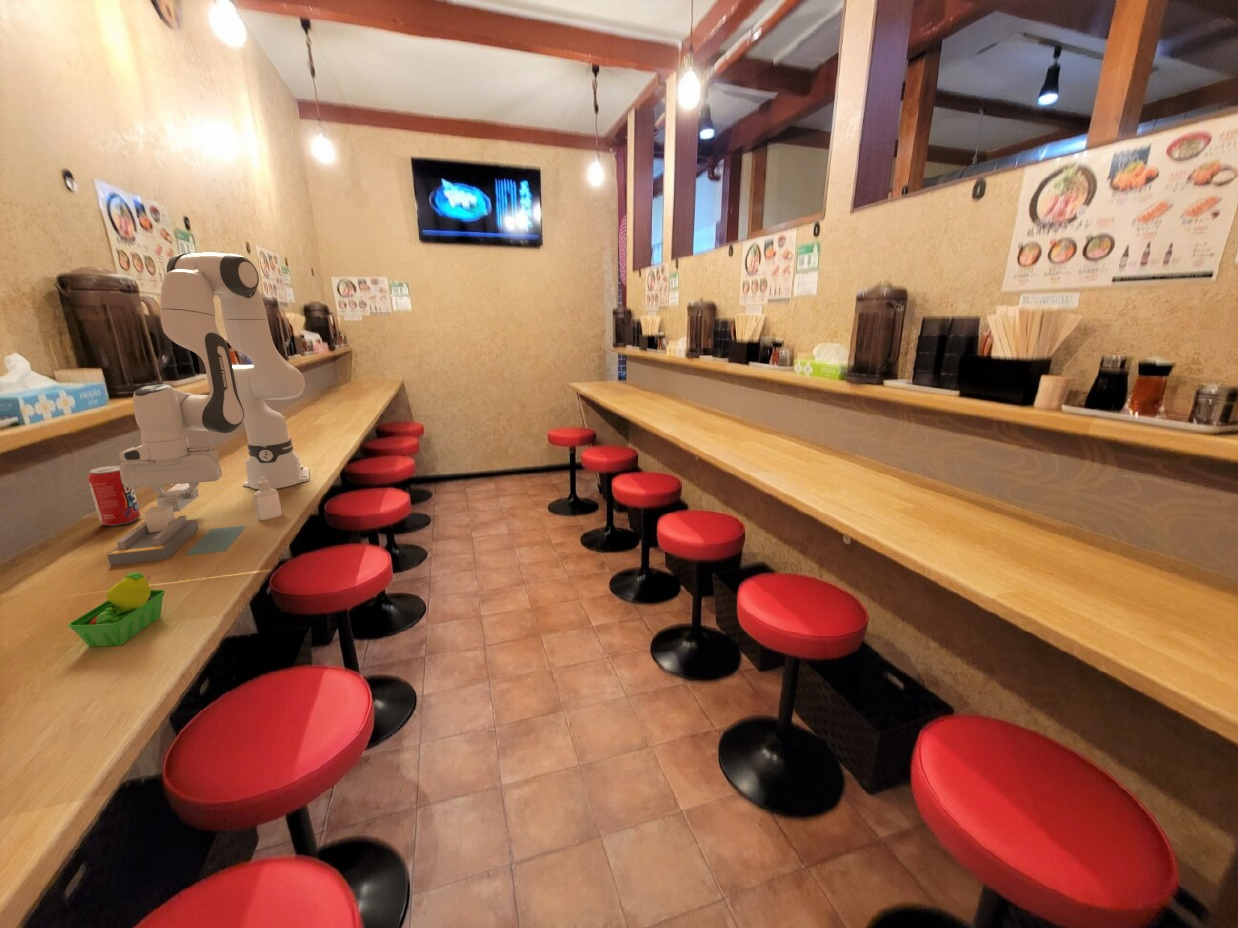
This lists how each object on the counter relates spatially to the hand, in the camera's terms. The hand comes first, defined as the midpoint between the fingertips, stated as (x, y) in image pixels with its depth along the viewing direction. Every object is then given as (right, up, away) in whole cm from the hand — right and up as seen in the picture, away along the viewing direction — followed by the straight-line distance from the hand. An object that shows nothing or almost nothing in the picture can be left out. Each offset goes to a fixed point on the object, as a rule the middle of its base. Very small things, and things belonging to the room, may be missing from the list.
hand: (179, 499), depth 133 cm
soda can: (-17, -6, +2) cm, 18 cm away
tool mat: (+16, -10, -8) cm, 21 cm away
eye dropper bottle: (+19, -6, +7) cm, 21 cm away
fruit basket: (+29, -21, -43) cm, 56 cm away
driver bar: (0, -1, 0) cm, 1 cm away
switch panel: (+5, -11, -12) cm, 17 cm away
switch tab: (+4, -7, -9) cm, 12 cm away
